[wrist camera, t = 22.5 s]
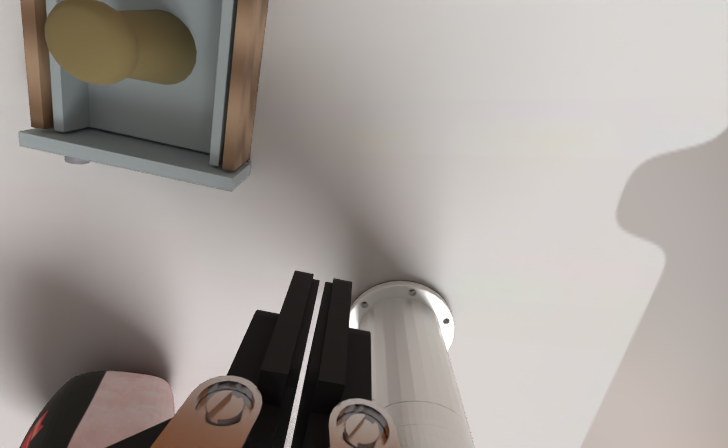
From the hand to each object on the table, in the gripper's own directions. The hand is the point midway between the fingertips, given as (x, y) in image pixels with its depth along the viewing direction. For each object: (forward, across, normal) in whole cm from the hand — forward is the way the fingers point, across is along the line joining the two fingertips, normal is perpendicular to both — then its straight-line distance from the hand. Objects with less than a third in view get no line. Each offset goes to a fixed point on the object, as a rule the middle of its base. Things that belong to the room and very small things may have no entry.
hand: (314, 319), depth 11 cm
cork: (+28, +18, -4) cm, 34 cm away
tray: (+29, +18, -2) cm, 34 cm away
